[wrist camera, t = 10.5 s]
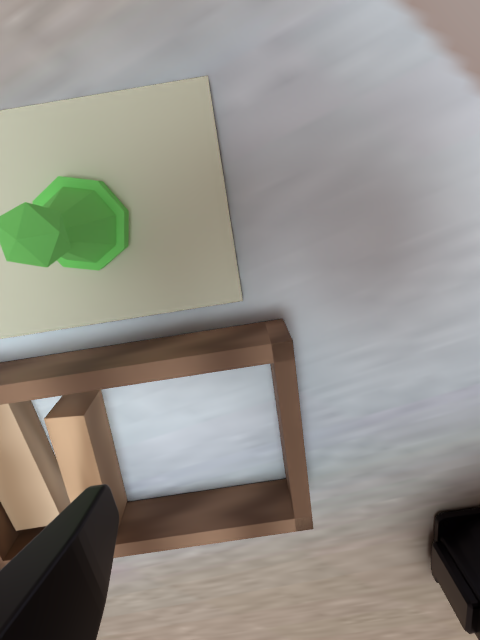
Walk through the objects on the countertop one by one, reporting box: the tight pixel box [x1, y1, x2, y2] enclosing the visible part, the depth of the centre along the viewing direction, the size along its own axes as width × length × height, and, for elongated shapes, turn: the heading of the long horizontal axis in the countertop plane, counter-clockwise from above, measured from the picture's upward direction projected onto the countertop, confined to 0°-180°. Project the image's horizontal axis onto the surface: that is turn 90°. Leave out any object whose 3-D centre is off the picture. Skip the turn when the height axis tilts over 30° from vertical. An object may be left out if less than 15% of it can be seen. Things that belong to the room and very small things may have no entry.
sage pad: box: [0, 76, 243, 339], centre depth 17 cm, size 14×10×1 cm
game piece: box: [0, 176, 129, 271], centre depth 14 cm, size 4×4×6 cm
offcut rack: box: [0, 319, 313, 570], centre depth 20 cm, size 19×12×3 cm, turn 99°
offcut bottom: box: [0, 400, 70, 531], centre depth 21 cm, size 3×9×2 cm, turn 10°
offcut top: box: [44, 389, 127, 529], centre depth 21 cm, size 3×8×2 cm
